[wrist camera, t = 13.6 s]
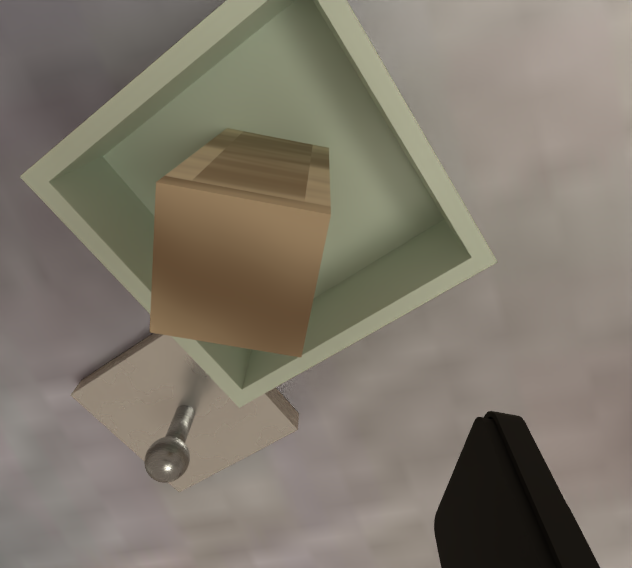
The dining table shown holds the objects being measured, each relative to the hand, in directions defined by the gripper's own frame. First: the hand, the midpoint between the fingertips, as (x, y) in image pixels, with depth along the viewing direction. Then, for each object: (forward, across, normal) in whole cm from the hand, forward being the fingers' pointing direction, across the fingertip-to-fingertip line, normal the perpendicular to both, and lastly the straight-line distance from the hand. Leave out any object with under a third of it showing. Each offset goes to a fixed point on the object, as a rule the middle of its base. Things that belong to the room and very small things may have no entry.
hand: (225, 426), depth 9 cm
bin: (+18, +1, 0) cm, 18 cm away
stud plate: (+18, +5, +15) cm, 24 cm away
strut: (+17, +1, 0) cm, 17 cm away
